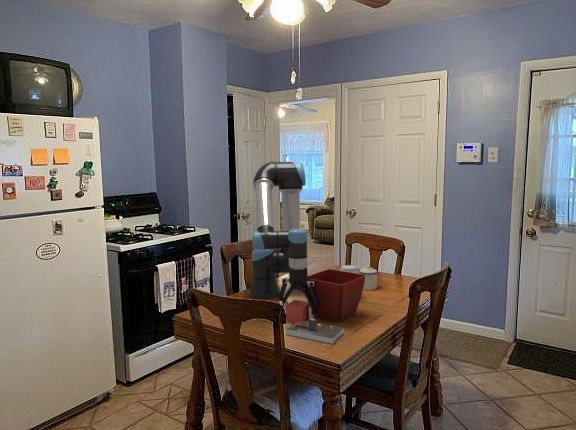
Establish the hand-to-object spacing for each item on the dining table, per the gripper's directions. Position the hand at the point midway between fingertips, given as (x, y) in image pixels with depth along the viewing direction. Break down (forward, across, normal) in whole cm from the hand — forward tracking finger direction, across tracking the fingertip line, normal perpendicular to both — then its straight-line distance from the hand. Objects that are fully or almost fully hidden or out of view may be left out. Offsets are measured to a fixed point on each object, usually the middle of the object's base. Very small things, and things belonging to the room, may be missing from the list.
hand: (298, 319), depth 177 cm
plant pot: (0, +11, +13) cm, 17 cm away
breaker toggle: (-2, +12, -11) cm, 16 cm away
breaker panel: (0, +12, -10) cm, 16 cm away
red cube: (0, 0, 0) cm, 0 cm away
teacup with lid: (0, +10, +56) cm, 56 cm away
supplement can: (0, +8, +37) cm, 37 cm away
